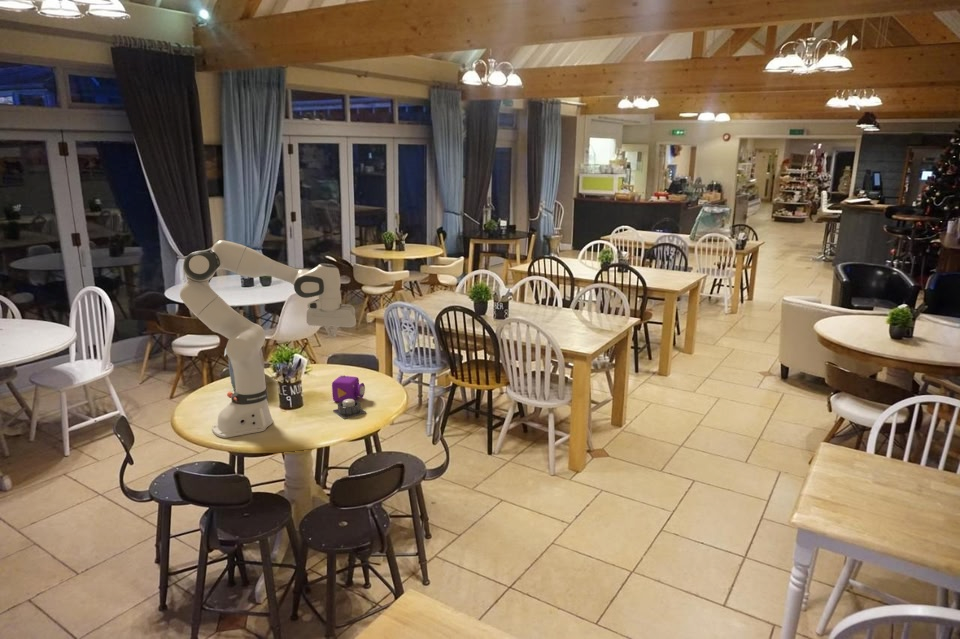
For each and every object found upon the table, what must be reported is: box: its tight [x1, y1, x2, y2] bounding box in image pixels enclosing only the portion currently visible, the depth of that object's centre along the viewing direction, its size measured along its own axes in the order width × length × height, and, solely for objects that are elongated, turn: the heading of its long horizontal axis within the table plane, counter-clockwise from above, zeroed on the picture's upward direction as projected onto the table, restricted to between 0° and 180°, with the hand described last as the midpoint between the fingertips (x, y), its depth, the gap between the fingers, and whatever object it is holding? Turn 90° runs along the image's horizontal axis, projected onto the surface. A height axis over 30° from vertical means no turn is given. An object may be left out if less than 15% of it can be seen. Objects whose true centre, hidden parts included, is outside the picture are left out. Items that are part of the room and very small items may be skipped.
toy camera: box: [331, 374, 366, 403], centre depth 283 cm, size 11×14×10 cm
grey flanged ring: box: [332, 400, 367, 420], centre depth 269 cm, size 10×10×4 cm
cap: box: [343, 399, 356, 407], centre depth 269 cm, size 5×5×4 cm
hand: (332, 336), depth 267 cm, fingers closed
